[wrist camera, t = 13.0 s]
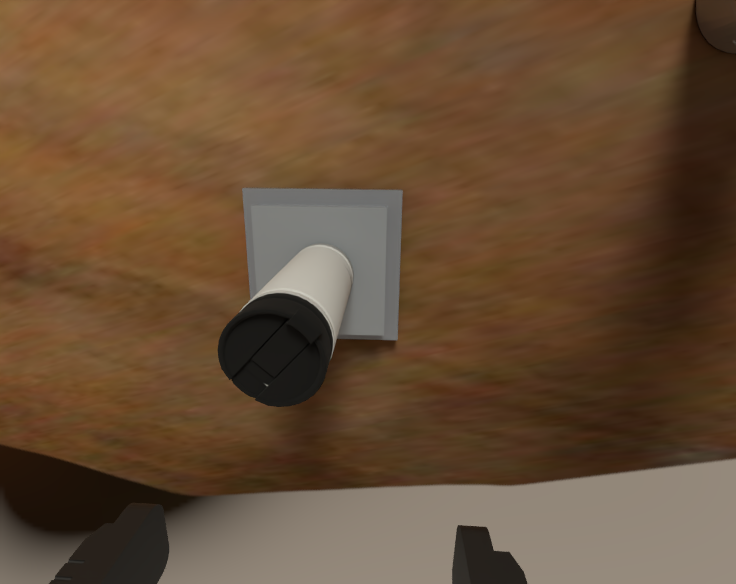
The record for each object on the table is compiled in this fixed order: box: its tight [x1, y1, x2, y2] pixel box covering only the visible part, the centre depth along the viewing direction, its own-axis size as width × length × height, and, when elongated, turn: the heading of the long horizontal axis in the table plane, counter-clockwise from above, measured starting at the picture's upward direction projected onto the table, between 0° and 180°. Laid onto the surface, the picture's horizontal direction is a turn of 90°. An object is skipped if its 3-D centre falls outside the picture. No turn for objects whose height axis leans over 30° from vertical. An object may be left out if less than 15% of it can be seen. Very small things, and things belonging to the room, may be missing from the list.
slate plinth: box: [242, 188, 402, 340], centre depth 43 cm, size 16×16×4 cm
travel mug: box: [218, 243, 354, 407], centre depth 32 cm, size 6×7×20 cm
